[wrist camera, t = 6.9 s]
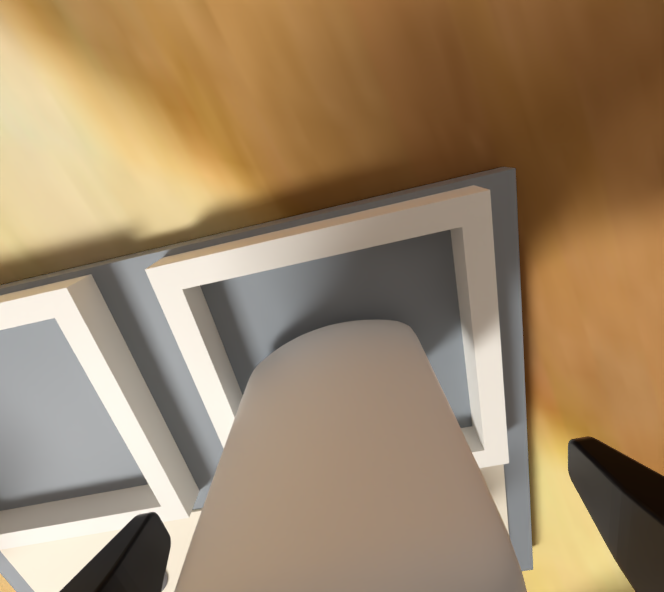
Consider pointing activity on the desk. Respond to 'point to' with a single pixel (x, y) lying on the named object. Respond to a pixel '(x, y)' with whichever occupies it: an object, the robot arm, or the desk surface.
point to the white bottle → (348, 478)
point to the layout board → (243, 360)
